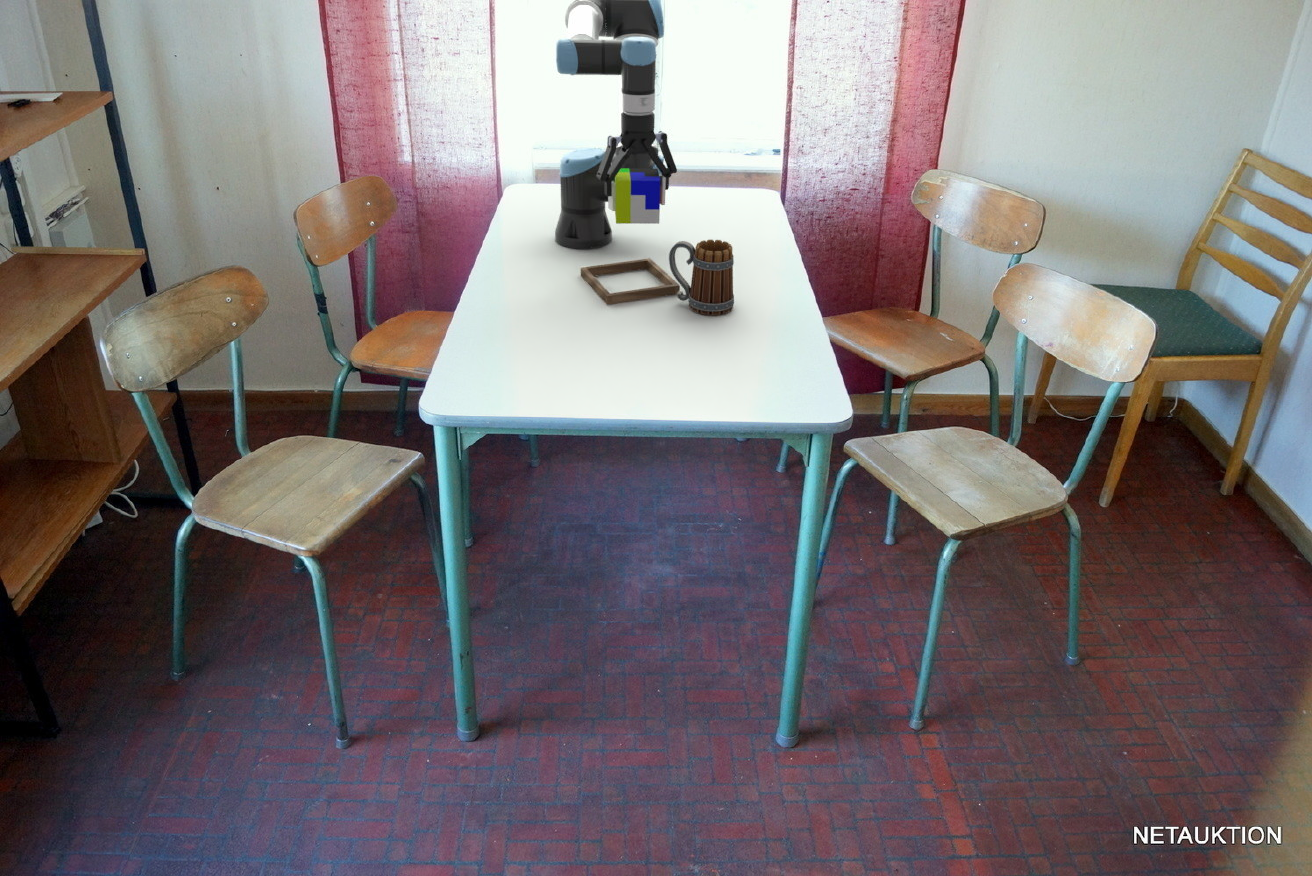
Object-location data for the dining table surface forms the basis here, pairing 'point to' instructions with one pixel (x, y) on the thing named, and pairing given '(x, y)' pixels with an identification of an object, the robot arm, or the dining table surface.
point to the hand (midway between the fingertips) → (636, 206)
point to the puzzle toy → (637, 196)
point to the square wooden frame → (626, 296)
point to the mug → (707, 277)
